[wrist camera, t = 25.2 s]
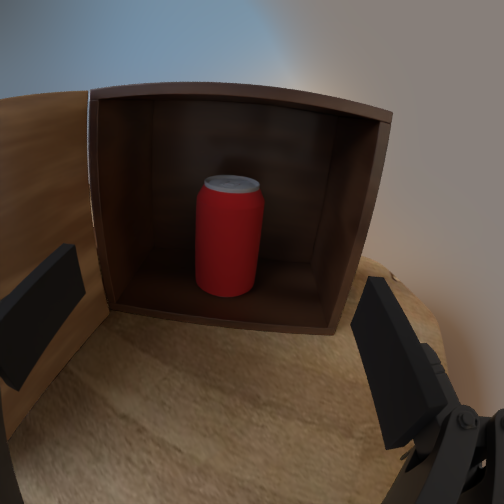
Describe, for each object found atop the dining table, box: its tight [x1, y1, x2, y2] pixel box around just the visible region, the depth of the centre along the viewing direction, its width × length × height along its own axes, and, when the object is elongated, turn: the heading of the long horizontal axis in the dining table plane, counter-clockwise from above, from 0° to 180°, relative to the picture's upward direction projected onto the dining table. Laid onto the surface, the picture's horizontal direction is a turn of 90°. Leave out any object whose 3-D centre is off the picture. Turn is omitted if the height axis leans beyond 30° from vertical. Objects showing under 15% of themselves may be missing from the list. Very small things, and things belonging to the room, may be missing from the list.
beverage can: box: [195, 175, 265, 297], centre depth 30 cm, size 7×7×12 cm
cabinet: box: [88, 82, 393, 335], centre depth 29 cm, size 14×24×22 cm, turn 88°
